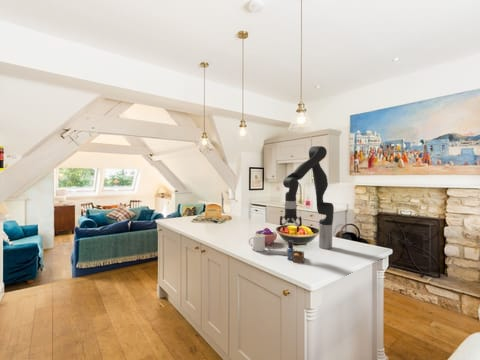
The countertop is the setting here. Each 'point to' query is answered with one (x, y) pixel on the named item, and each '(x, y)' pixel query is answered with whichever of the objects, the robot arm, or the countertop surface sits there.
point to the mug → (258, 242)
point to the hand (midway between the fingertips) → (290, 231)
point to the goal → (298, 257)
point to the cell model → (268, 235)
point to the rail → (278, 252)
